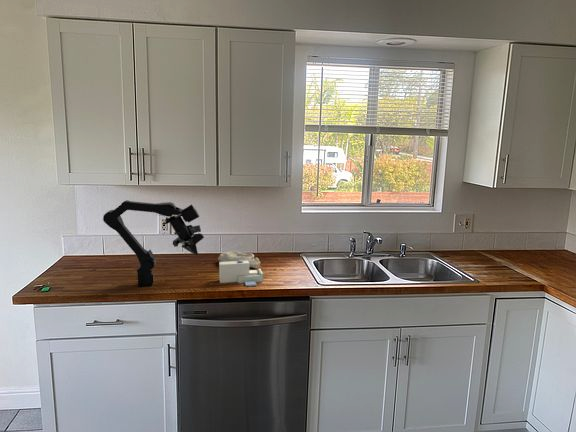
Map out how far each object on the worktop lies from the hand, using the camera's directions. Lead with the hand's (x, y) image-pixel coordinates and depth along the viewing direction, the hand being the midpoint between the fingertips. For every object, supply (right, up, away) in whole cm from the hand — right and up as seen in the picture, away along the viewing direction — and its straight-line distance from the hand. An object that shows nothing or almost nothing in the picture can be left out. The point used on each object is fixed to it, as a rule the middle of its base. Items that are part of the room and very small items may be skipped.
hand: (196, 254), depth 199 cm
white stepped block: (+19, -13, +5) cm, 24 cm away
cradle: (+24, -13, +6) cm, 28 cm away
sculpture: (+17, -9, +29) cm, 34 cm away
